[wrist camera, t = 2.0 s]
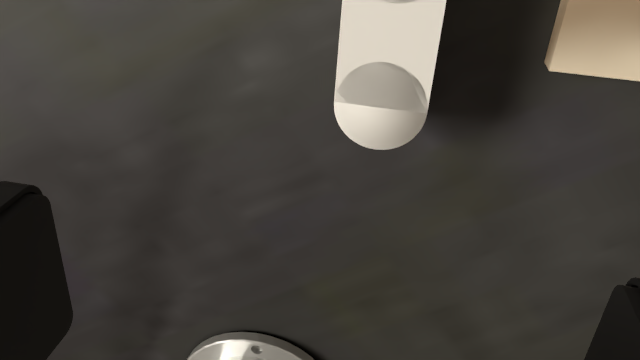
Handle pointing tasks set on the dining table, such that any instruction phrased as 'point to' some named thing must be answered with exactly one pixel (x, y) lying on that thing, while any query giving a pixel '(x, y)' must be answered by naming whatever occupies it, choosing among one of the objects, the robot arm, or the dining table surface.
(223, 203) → the dining table surface
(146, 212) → the dining table surface
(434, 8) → the rounded block
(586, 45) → the birch board
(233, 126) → the dining table surface
